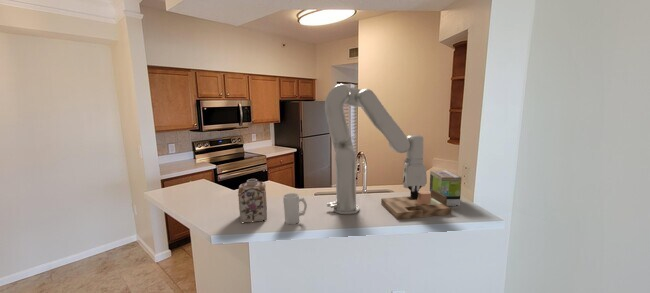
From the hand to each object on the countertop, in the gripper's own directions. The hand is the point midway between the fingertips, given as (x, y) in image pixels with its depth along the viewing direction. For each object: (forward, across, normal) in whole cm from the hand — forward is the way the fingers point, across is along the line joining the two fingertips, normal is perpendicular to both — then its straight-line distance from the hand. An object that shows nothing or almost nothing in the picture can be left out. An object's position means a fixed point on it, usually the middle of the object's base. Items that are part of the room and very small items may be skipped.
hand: (414, 198), depth 125 cm
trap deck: (+5, 0, 0) cm, 5 cm away
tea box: (+6, +20, +7) cm, 22 cm away
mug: (+5, -57, -2) cm, 57 cm away
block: (+2, +5, 0) cm, 5 cm away
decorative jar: (+5, -76, +7) cm, 76 cm away
